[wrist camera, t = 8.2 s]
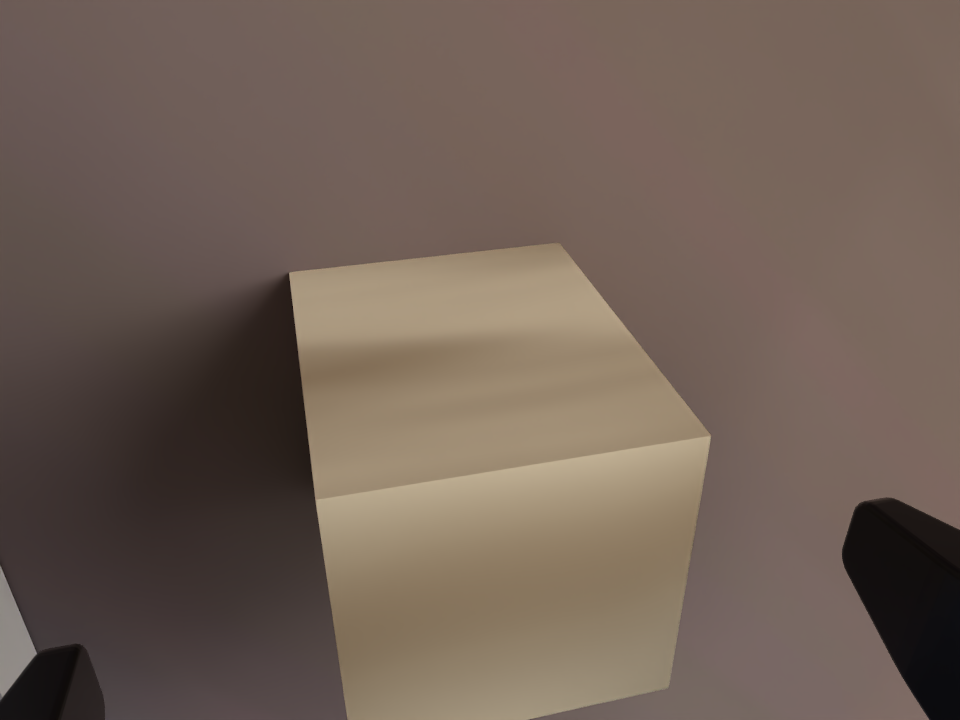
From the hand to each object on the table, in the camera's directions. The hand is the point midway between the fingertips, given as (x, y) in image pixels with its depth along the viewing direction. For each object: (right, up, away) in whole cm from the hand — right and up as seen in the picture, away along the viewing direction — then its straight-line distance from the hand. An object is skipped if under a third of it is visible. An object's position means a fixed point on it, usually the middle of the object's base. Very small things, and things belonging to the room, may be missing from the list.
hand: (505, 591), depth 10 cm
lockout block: (-1, +2, +4) cm, 5 cm away
